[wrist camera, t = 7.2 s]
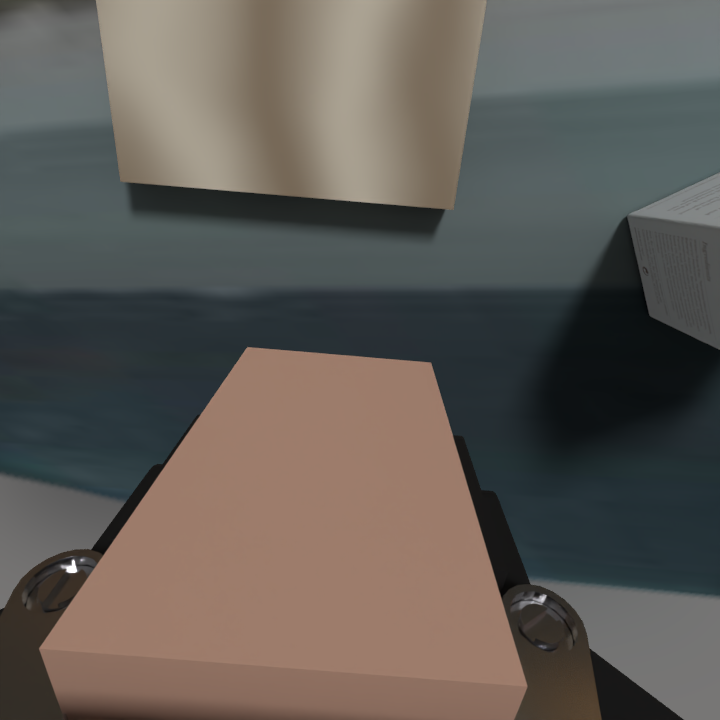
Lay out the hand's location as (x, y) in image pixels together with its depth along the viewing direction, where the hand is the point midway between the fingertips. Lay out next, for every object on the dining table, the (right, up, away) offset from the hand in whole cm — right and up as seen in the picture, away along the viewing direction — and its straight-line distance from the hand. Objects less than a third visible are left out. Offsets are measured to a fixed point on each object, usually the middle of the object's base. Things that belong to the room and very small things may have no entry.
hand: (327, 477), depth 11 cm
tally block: (0, +1, +2) cm, 2 cm away
